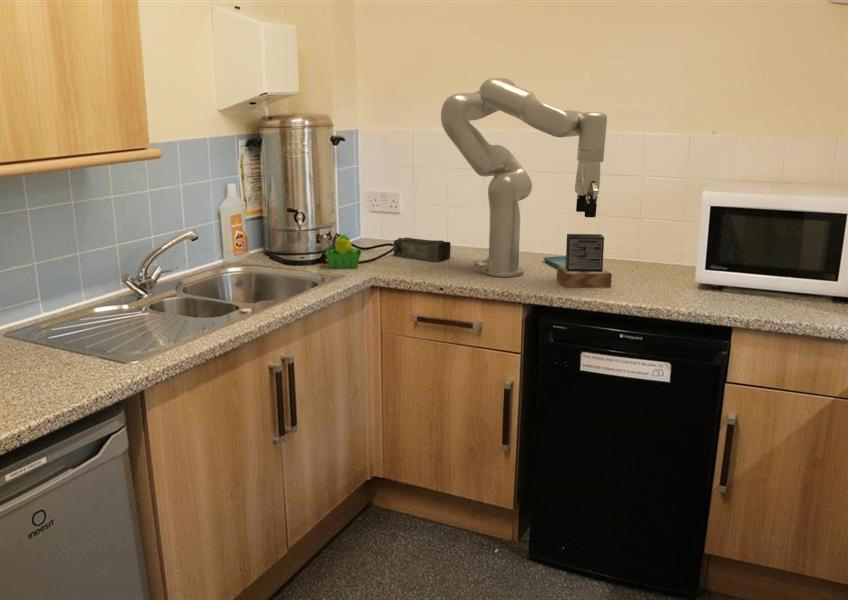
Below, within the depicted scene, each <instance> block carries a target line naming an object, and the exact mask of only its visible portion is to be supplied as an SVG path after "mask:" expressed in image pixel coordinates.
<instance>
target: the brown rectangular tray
mask: <svg viewBox="0 0 848 600" xmlns="http://www.w3.org/2000/svg"><path fill="white" fill-rule="evenodd" d="M612 276H613V275H612V273H611V272H610V271H608V270H607V269H606V268H605V267H603V271H602V272H594V271H567V269H566V266H559V267H557V268H556V281H557V280H558V281H559V282H560V283H561V284H560V283H559V282H558V281H557V282H558V283H559V284H560V285H563V286H564V287H570V288H612ZM563 286H562V287H563ZM564 287H563V288H564Z"/></svg>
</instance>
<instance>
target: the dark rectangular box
mask: <svg viewBox="0 0 848 600" xmlns="http://www.w3.org/2000/svg"><path fill="white" fill-rule="evenodd" d="M393 256H394V257H397V258H406V259H414V260H418V261H419V260H421V261H428V262H434V261H435V263H436V262H437V263H440V262H444V261H447V260H451V242H450V241H444V240H443V239H442V240H433V239H432V240H430V239H422V238H412V237H407V236H406V237H403V238H402V237H398V238H397V239H395V240H393Z"/></svg>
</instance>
